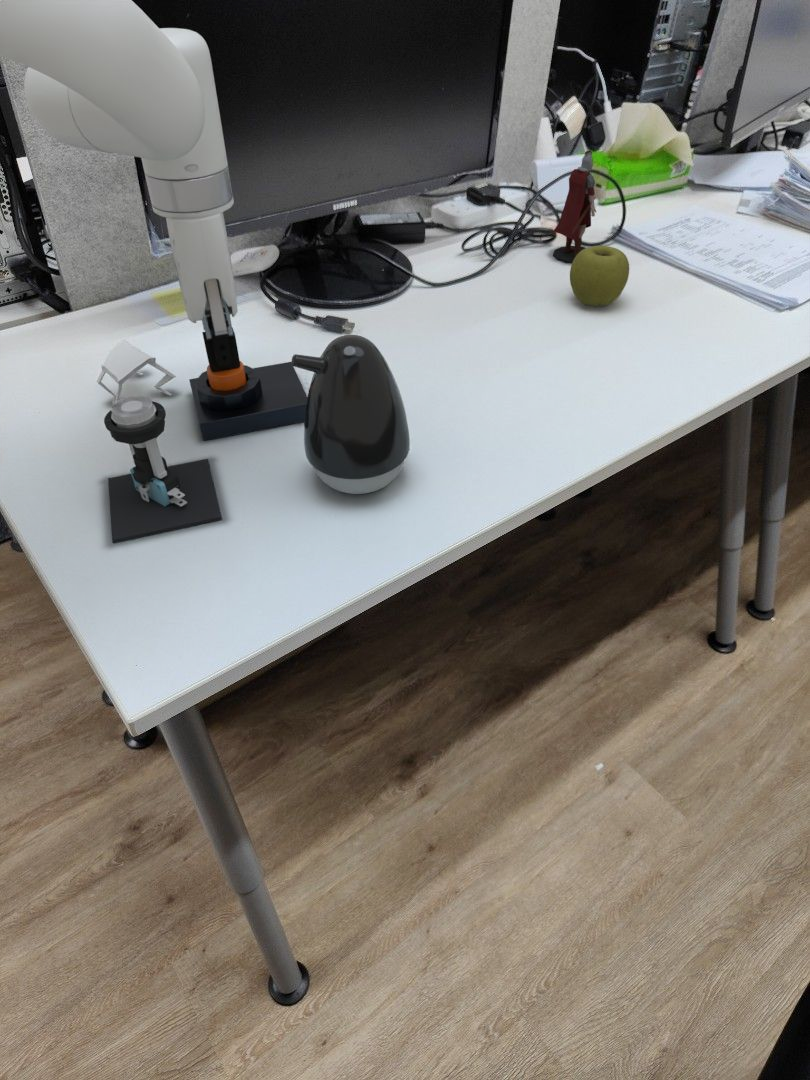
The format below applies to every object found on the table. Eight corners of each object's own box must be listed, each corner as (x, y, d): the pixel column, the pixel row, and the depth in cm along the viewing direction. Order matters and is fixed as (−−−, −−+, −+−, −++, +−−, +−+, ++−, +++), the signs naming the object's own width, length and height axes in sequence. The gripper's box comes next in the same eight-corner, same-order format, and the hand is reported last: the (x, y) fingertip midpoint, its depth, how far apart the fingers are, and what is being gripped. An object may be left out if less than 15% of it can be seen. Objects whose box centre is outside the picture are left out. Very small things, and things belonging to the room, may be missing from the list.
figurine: (605, 258, 118) (621, 152, 108) (567, 268, 115) (580, 161, 105) (577, 244, 122) (591, 142, 112) (540, 253, 120) (551, 149, 110)
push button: (206, 495, 74) (184, 407, 68) (162, 524, 71) (135, 434, 65) (162, 471, 77) (137, 384, 71) (118, 497, 74) (88, 409, 68)
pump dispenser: (297, 459, 79) (279, 322, 69) (393, 441, 81) (388, 305, 71) (319, 519, 72) (301, 375, 62) (423, 497, 74) (423, 355, 64)
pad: (113, 543, 70) (111, 540, 70) (109, 481, 77) (107, 478, 77) (222, 519, 72) (221, 516, 72) (208, 461, 79) (207, 458, 79)
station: (203, 441, 82) (196, 409, 80) (193, 395, 89) (185, 364, 87) (312, 420, 85) (308, 388, 82) (293, 377, 92) (289, 347, 89)
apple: (601, 319, 102) (609, 267, 97) (554, 301, 106) (560, 250, 102) (634, 302, 106) (644, 251, 101) (588, 285, 110) (595, 235, 105)
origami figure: (187, 406, 88) (178, 367, 84) (114, 426, 85) (101, 387, 81) (160, 362, 96) (151, 325, 92) (92, 379, 93) (80, 341, 89)
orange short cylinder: (212, 395, 82) (209, 379, 81) (207, 378, 85) (204, 361, 84) (249, 389, 83) (246, 372, 82) (243, 372, 86) (240, 355, 85)
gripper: (143, 171, 75) (182, 342, 87) (155, 220, 65) (198, 407, 77) (219, 163, 77) (248, 332, 89) (243, 209, 66) (272, 394, 78)
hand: (225, 366), depth 83 cm, fingers closed
